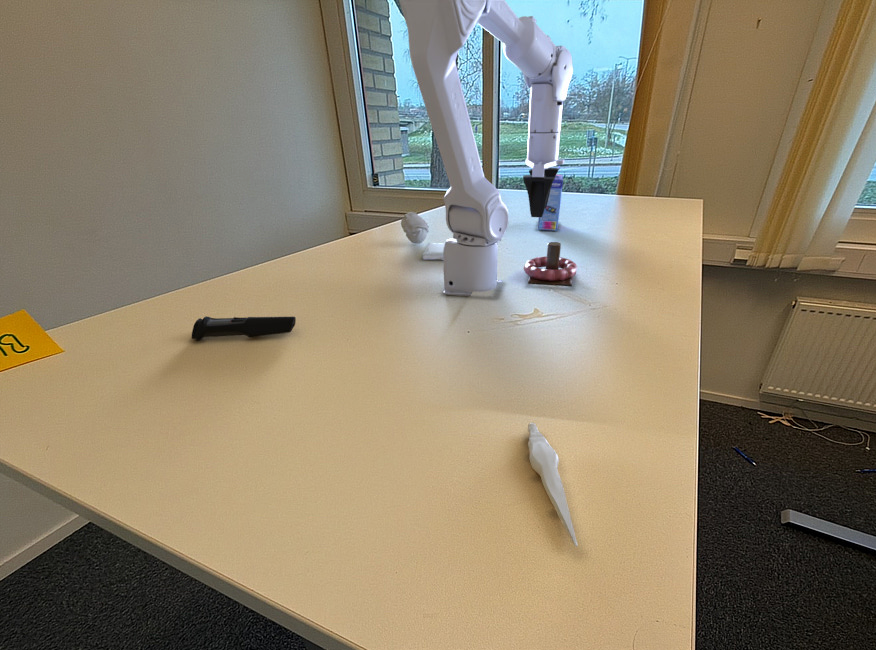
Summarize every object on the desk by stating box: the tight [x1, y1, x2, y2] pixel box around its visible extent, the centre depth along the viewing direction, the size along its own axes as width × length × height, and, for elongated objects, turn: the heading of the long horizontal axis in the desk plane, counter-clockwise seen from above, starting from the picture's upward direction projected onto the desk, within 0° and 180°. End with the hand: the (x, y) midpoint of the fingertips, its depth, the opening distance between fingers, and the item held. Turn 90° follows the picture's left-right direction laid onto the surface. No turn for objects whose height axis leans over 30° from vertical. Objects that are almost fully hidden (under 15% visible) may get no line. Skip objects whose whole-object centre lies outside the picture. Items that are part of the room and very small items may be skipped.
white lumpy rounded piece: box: [400, 211, 430, 245], centre depth 105 cm, size 6×7×7 cm
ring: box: [523, 255, 578, 281], centre depth 84 cm, size 10×10×2 cm
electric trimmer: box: [191, 316, 297, 342], centre depth 66 cm, size 4×16×3 cm, turn 91°
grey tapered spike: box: [527, 422, 579, 547], centre depth 40 cm, size 15×3×2 cm, turn 7°
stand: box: [527, 241, 574, 288], centre depth 82 cm, size 8×8×7 cm
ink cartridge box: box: [537, 165, 564, 232], centre depth 114 cm, size 10×6×14 cm, turn 171°
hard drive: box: [422, 242, 445, 261], centre depth 99 cm, size 2×8×12 cm
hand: (538, 212), depth 86 cm, fingers open, 7 cm apart
